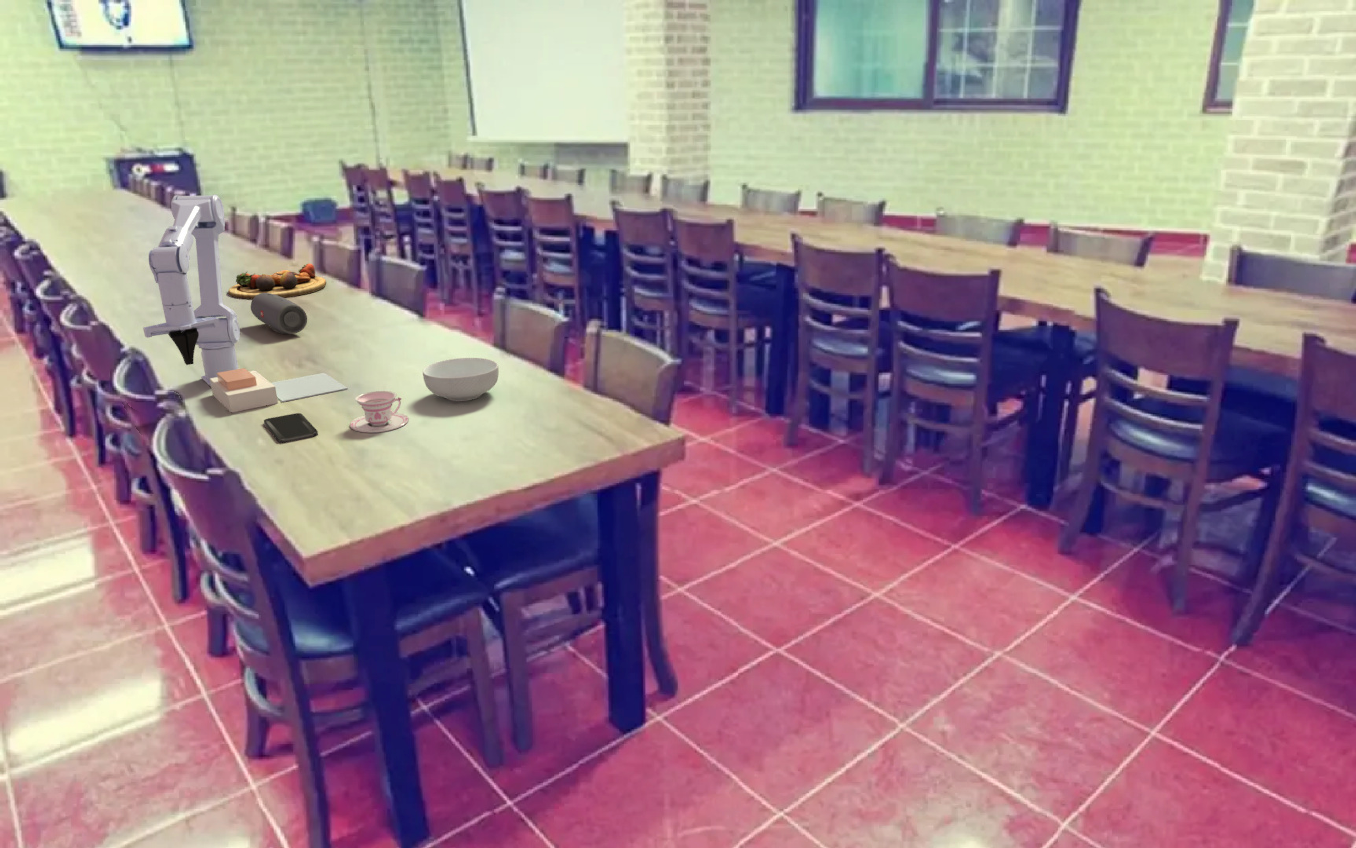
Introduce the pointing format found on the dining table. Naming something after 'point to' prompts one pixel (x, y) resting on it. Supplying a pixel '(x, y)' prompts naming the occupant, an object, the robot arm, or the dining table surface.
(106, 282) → the dining table surface
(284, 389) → the mat
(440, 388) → the cereal bowl
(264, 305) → the bluetooth speaker
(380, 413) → the teacup
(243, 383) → the terracotta tile
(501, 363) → the dining table surface
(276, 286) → the wooden plate with food
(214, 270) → the robot arm
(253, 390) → the cream rectangular block
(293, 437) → the phone
